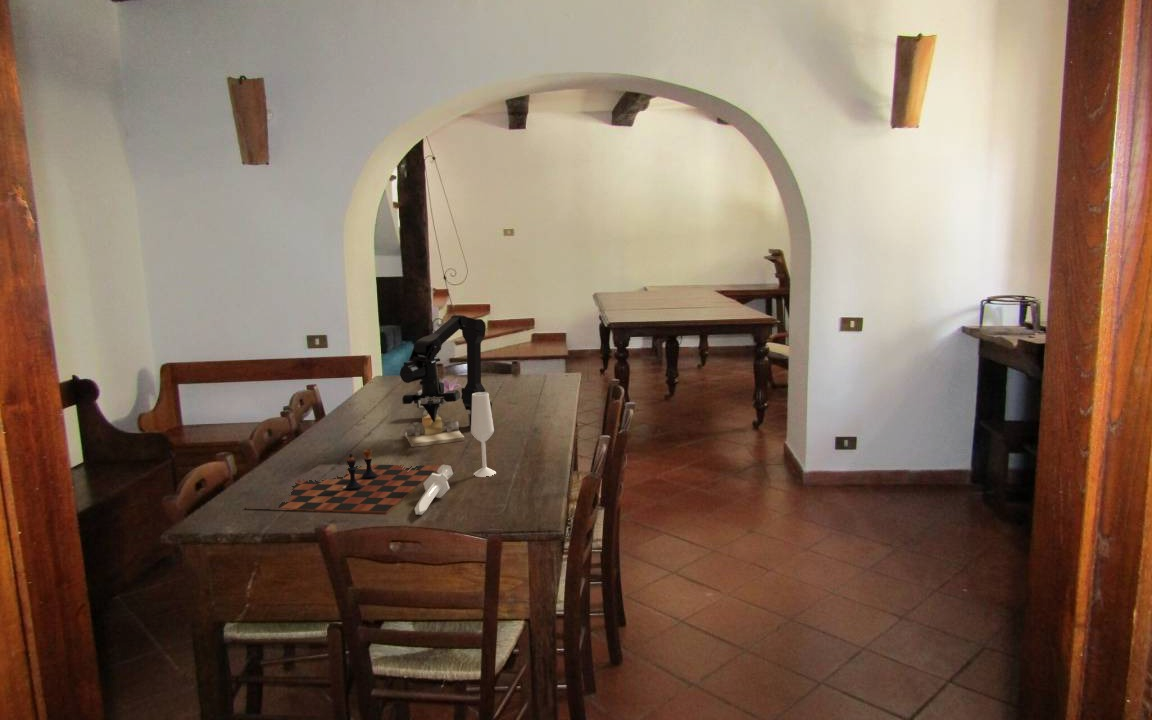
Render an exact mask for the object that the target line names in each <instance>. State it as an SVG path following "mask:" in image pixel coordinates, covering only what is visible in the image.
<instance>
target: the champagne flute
mask: <svg viewBox="0 0 1152 720" xmlns="http://www.w3.org/2000/svg"><path fill="white" fill-rule="evenodd" d="M490 402H491V401H490V394H489V392H486V391H485V392H478V393H473V394H472V414H471V426H470V433H471V435H472V436H473V437H474V438H475V439H476V440H477V441H478V442H480V444H481V445H480V446H481V459H482V460H481V461H482V462H481V464H482V467H481V468H480V469H478V470H476V471H475V472H473V476H474V475H475V476H474V477H478V478H487V477H486V476H489V477H493V476H495V475H496V474H497V472H496V471H495V470H494V469H491V468H489V467H487V452H486V451H487V450H486V449H487V448H486V442H487V441H488V440H489V439H490V437H492V435H493V434H494V432H495V428H494V421H493V415H492V408H491V407H490ZM494 474H495V475H494ZM492 475H493V476H492Z"/></svg>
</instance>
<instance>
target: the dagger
mask: <svg viewBox="0 0 1152 720" xmlns="http://www.w3.org/2000/svg"><path fill="white" fill-rule="evenodd" d="M439 466H440V467H439V468H438V469H437V470H436V472H437V473H435V472H434V473H432V474H431V475H430V476H429V477H428V478H427V479H426V480H425V481H423V487H424V490H425V491H424V493H423V494H422V496H420V498H419V500H418V502H417V503H416V505H415V507H414V512H415V515H416V516H417V515H419V516H420V515H423V514H424V513H425V512H427V509H428V508H429V506H430V504H431V503H432V502H433V500H434V498H437V499H441V498H442V497H443V496H444V495H445V494H446V493H447V492H448V491H449V490H450V484H449V482H448V480H449V479H450V478H451V477H452V476H453V475H454V472H453V469H452V466H451V465H447V464H441V465H439Z"/></svg>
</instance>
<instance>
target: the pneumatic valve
mask: <svg viewBox="0 0 1152 720" xmlns="http://www.w3.org/2000/svg"><path fill="white" fill-rule="evenodd" d="M416 392H418V394H419V395H421V393H422V388H421V389H419V390H417V391H416ZM440 394H443V393H440ZM413 404H415V405H416V407H417V408H419V409H421V408H423V409H425V408H424V407H423V406H420V404H421V400H414V401H413ZM444 405H446V401H445V400H444V399H443V402H442V403H440V404H439V407H438V408H441V407H442V406H444ZM423 416H424V417H426V416H427V411H426V409H425V410H424V411H423ZM436 416H439V411H438V410H437V414H436ZM424 417H423V418H424Z"/></svg>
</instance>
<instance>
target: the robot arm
mask: <svg viewBox="0 0 1152 720" xmlns="http://www.w3.org/2000/svg"><path fill="white" fill-rule="evenodd" d="M486 326H487V325H486V322H485V321H484V320H483V319H482V318H473V317H468V316H465V315H464V314H453V315H451V316H450V318H449V319H448V320H446V321H445V322H444V323H443V324H442V325H441V326H440V327H439V328H437V329H436V330H435V331H434V332H433V333H430V334H429V335H426V336H423V337H421V338H419V339H418V340H416V341H415V343H414V345H413V348H412V351H411V354H410V357H409V359H408V361H404V362H403V366H401V368H400V372H399V376H400V379H401V380H402V381H403V382H404V383H406V384H410V383H412V382H416V381H419V386H420V387H421V389H422V393H421V395H419V394H418V392H417V391H415V392H407V393H405V394H403V396H402V397H401V402H402V404H403V405H409V404H412V403H414V400H421V404H420V406H423V407H424V408H423V409H425V410H426V411H427V412H428V414H429V415H430V417H431V419H432V420H433V422H435V418H436V414H437V411H438V410H439V408H440V407H439V404H440V403H442V402H443V399H444V400H445V401H446V402H447V403H448V402H449V403H451V402H453V403H454V402H457V401H458V400H459V399H461V402H462V404H463V406H464V409H465V410H466V411H469V413H468V414H467V416H468V417H467V418H468V419H467V420H468V426H470V427H471V414H472V394H473V393H478V392H486V388H484V385H483V384H482V357H481V356H482V354H481V353H482V351H481V350H482V347H481V346H482V342H483V340H484V339H485V336H486V328H487V327H486ZM459 330H460V331H461V333H462V337H463V339H464V342H465V343H466V377H467V378H466V384H465V386H464V387H462V388H461V389H460V390H461V392H460V391H459V389H454V390H449V391H447V392H446V393H444V383H442V382H441V380H440V377H438V368H437V363H438V362H440V361H441V358H439V357H437V355H438V354H439V352H441V350H442V345H444V343H446V342H447V341H448V340H449V339H450V338H451V337H452V336H454V334H455V333H457V332H458V331H459ZM440 393H443V394H440ZM490 407H491V409H492V407H493V404H492V402H491V401H490Z"/></svg>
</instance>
